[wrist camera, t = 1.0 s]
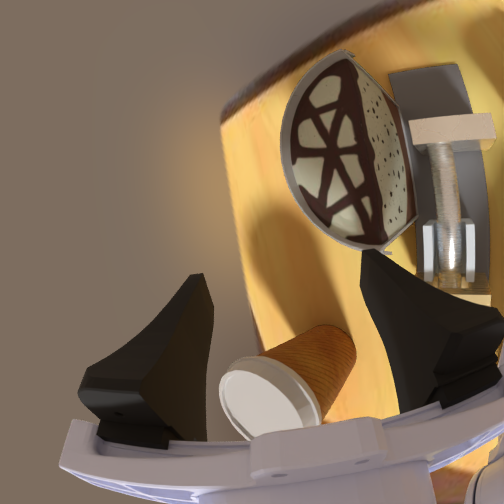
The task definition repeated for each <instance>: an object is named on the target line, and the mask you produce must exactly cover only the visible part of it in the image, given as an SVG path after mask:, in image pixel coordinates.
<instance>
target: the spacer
mask: <svg viewBox="0 0 504 504" xmlns="http://www.w3.org/2000/svg"><path fill="white" fill-rule="evenodd" d="M415 276H416V277H418V278H419V279H421V280H423V281H424V272H416V274H415ZM424 282H426V283H428V284H430V285H432V286H434V287H436V288H438V273H435V276H434V279H433V281H424ZM438 289H440V290H442V291H444V292H446V293H449V294H451V295H453V296H456V297H458V298H461V299H464V300H467V301H470V302H473V303H477V304H480V305H485V306H489V307H490V304H491V292H490V288H489V284H488V281H487V277H486V274H485V273H475V275H474V282H466V274H465V273H462V284H461V288H438Z"/></svg>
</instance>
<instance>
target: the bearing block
mask: <svg viewBox="0 0 504 504" xmlns="http://www.w3.org/2000/svg"><path fill="white" fill-rule="evenodd" d="M461 226H462V273H465V274H466V282H474V275H475V226H474V223H473V221H472V220H471V218H461ZM423 238H424V281H433V279H434V276H435V273H438V239H437V220H436V219H431V220H429V221H428V222H427V223H426V224H424V225H423Z"/></svg>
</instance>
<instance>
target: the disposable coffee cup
mask: <svg viewBox="0 0 504 504" xmlns="http://www.w3.org/2000/svg"><path fill="white" fill-rule="evenodd" d="M355 362H356V349H355V346H354V344H353V341H352V340H351V339H350V337H349V336H348V335H347V334H346V333H345V332H344V331H342V330H341V329H339V328H337V327H334V326H331V325H319V326H317V327H314V328H313V329H311V330H309V331H307V332H305V333H303V334H301V335H299V336H297V337H295V338H293V339H291V340H289V341H287V342H285V343H283V344H280V345H278V346H277V347H274V348H272V349H270V350H268V351H265V352H264V353H261V354H259V355H257V356H252V357H242V358H240V359H238V360H236V361H234V362H233V363H232V364H231V365H230V366H229V368H228V370H227V372H226V374H225V375H224V376H223V377H222V379H221V382H220V385H219V397H220V401H221V404H222V407H223V409H224V412H225V413H226V415H227V417H228V418H229V420H230V421H231V423H232V424H233V426H234V427H235V428H236V429H237V430H238V432H240V433H241V434H242V436H244V437H245V438H246V439H247V440H248V441H251V440H252V439H253V438H255V437H257V436H259V435H262V434H264V433H269V432H274V431H280V430H289V429H297V428H304V427H311V426H317V425H321V422H322V421H323V419H324V418H325V416H326V414H327V413H328V411H329V409H330V408H331V405H332V404H333V403H334V401H335V399H336V397H337V396H338V394H339V392H340V390H341V388H342V387H343V385H344V383H345V381H346V379H347V378H348V376H349V374H350V372H351V370H352V368H353V367H354V365H355Z"/></svg>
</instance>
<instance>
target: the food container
mask: <svg viewBox="0 0 504 504" xmlns="http://www.w3.org/2000/svg"><path fill="white" fill-rule="evenodd" d="M353 57H355V54H353V53H351V52H349V51H347V50H342V49H339V50H337V51H335V52H333V53H331V54H329V55H327V56H326V57H324V58H323V59H321V60H320V61H318V62H317V63H316V64H315V65H314V66H313V67H311V68H310V69H309V70H308V71H307V72H306V74H305V75H304V76H303V77H302V79H301V80H300V81H299V82H298V84H297V86H296V87H295V89H294V91H293V92H292V94H291V96H290V99H289V101H288V103H287V106H286V109H285V112H284V116H283V119H282V126H281V132H280V153H281V162H282V167H283V171H284V176H285V178H286V181H287V184H288V187H289V189H290V191H291V193H292V195H293V197H294V199H295V201H296V203H297V204H298V206H299V207H300V209H301V210H302V212H303V213H304V214H305V215H306V217H307V218H308V219H309V220H310V221H311V222H312V223H313V224H314V225H315V226H316V227H317V228H318V229H320V230H321V231H322V232H323V233H324V234H326V235H328V236H329V237H331V238H332V239H334V240H336V241H337V242H339V243H340V244H343V245H345V246H347V247H350V248H352V249H354V250H358V251H362V250H366V249H373V248H375V249H376V250H378V251H379V252H381V253H382V254H385V255H392V252H388V251H384V249H385V248H386V247H387V246H388V245H389V244H390V243H392V242H393V241H394V240H395V239H396V238H397V237H398V236H399V235H400V234H402V233H403V232H404V231H405V230H406V229H407V228H408V227H409V226H410V225H411V224H412V223H413V222H415V221H416V220H417V219H418V218H419V214H418V205H417V196H416V188H415V181H414V174H413V168H412V162H411V157H410V151H409V146H408V141H407V136H406V132H405V127H404V123H403V119H402V115H401V111H400V107H399V105H398V104H397V103H396V102H395V101H394V100H393V99H392V97H391V96H390V95H389V94H388V93H387V92H386V91H385V90H384V89H383V88H382V87H381V86H380V85H379V84H378V83H377V82H376V81H375V80H374V79H373V78H372V77H371V76H370V75H369V74H368V73H367V72H366V71H365V70H364V69H363V68H362V67H361V66H360V65H359V64H358V63H357V62H356V61H355V60H354V59H353Z"/></svg>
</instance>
